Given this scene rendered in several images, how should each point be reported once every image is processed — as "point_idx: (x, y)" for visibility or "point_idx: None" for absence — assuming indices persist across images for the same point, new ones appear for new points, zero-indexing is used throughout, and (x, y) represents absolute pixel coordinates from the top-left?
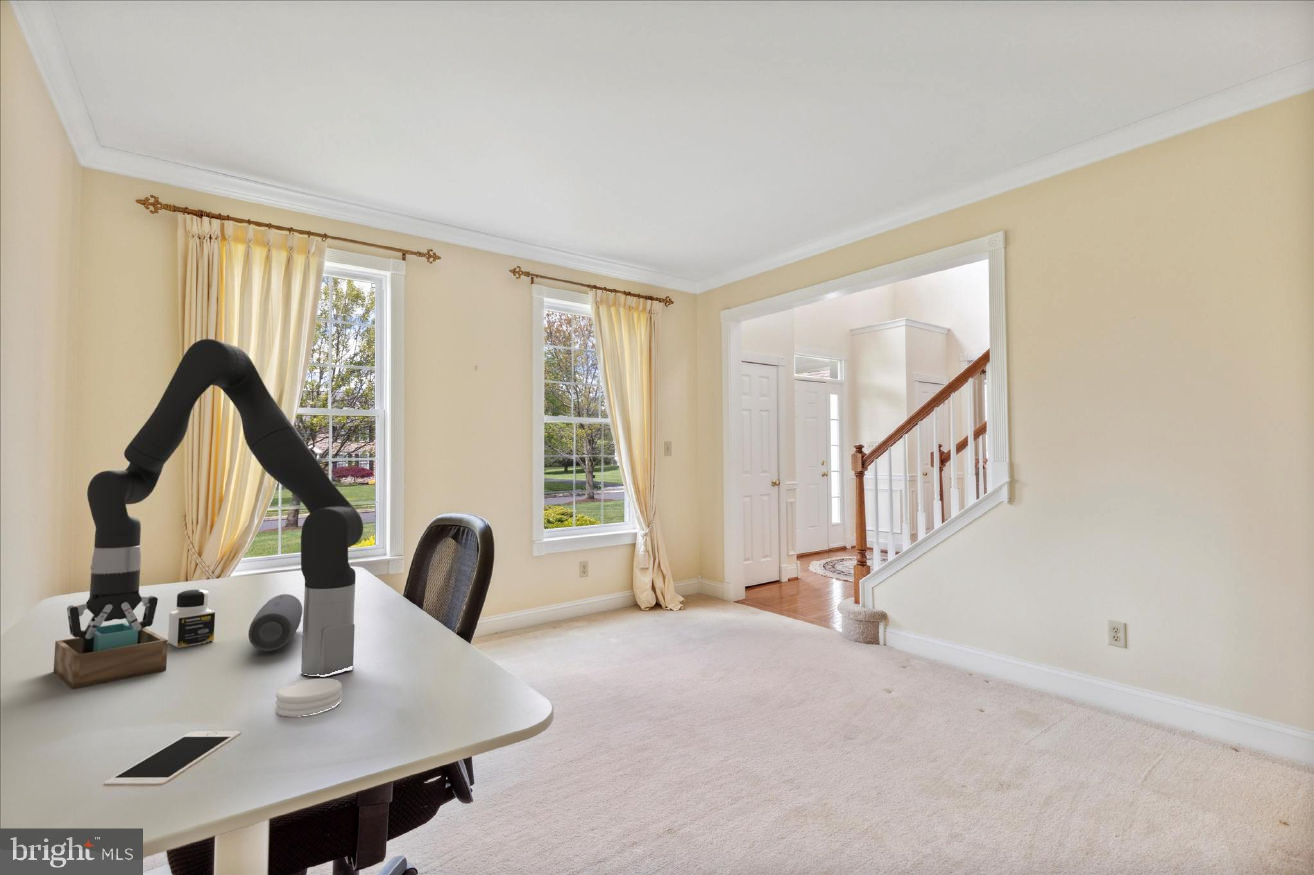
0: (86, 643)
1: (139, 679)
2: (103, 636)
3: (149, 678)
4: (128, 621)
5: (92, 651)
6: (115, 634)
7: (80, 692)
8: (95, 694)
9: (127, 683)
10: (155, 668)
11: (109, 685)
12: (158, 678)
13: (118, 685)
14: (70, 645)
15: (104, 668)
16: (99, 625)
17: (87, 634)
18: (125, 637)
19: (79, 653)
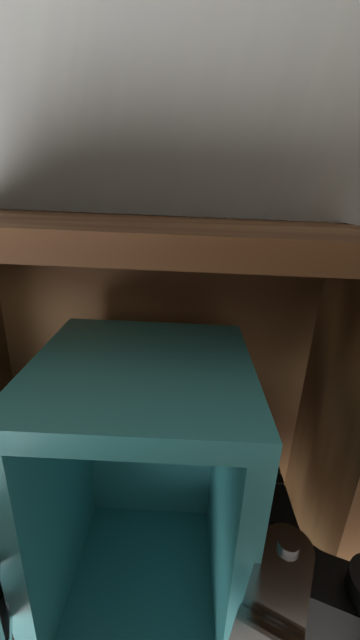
0: (279, 506)
1: (103, 134)
2: (243, 429)
3: (64, 108)
4: (2, 633)
5: None
6: (151, 428)
7: (348, 127)
8: (326, 3)
9: (161, 102)
10: (16, 211)
11: (226, 144)
12: (29, 61)
13: (200, 101)
14: None
15: (239, 224)
16: (246, 621)
17: (306, 559)
18: (85, 398)
19: None
